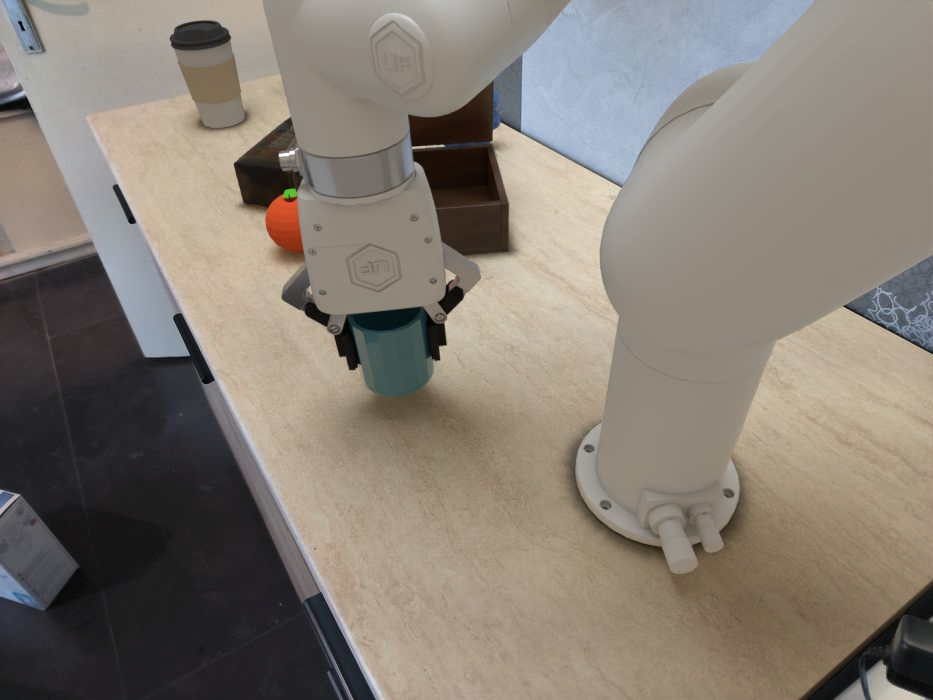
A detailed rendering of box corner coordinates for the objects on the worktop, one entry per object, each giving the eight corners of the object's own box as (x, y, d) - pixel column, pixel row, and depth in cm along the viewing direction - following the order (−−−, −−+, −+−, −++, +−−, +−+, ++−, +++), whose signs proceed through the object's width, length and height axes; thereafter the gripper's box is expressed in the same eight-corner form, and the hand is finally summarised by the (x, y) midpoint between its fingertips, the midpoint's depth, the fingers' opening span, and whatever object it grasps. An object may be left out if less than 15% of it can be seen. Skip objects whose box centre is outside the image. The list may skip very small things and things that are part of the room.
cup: (435, 392, 55) (427, 328, 51) (360, 400, 55) (345, 337, 51) (432, 344, 60) (423, 281, 56) (363, 351, 60) (349, 290, 55)
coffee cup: (201, 111, 113) (172, 17, 102) (254, 107, 113) (231, 13, 103) (191, 132, 106) (158, 34, 96) (247, 128, 106) (221, 30, 96)
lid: (495, 11, 71) (489, -13, 74) (368, 19, 70) (368, -6, 74) (492, 141, 84) (487, 116, 88) (386, 149, 84) (385, 123, 87)
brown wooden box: (508, 251, 77) (509, 203, 73) (392, 260, 77) (386, 212, 72) (492, 187, 89) (492, 142, 85) (391, 195, 88) (386, 150, 84)
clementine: (273, 232, 82) (259, 180, 78) (328, 224, 83) (318, 173, 78) (272, 267, 76) (257, 213, 72) (331, 258, 77) (320, 205, 73)
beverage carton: (352, 150, 99) (345, 107, 94) (295, 214, 85) (284, 168, 81) (304, 146, 101) (295, 103, 96) (241, 208, 87) (227, 162, 83)
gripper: (221, 199, 42) (290, 396, 53) (490, 171, 42) (499, 373, 54) (241, 150, 47) (299, 338, 59) (478, 126, 48) (489, 317, 59)
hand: (394, 353), depth 56 cm, fingers closed on cup, 6 cm apart
